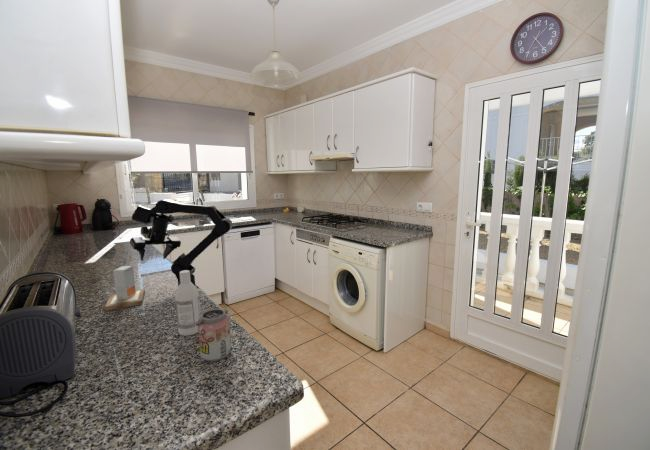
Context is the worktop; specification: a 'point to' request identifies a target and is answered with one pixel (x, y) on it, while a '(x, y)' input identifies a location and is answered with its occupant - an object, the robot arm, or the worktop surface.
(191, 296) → the bath foam
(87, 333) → the worktop surface
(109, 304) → the wooden picture frame
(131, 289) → the skincare box
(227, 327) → the beverage can
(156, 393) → the worktop surface
